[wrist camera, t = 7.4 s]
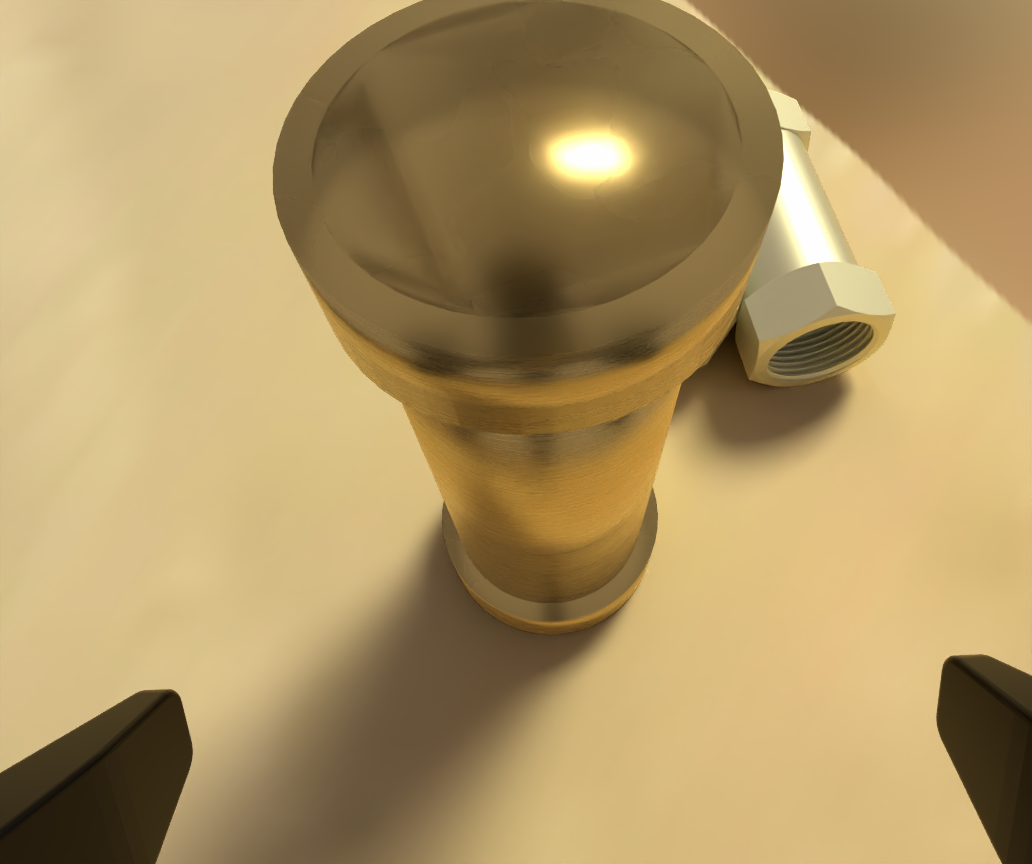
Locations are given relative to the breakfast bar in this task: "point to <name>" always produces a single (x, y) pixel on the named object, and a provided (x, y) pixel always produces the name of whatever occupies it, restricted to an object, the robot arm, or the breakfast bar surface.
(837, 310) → the pipe fitting
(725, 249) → the knob
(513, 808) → the breakfast bar surface
